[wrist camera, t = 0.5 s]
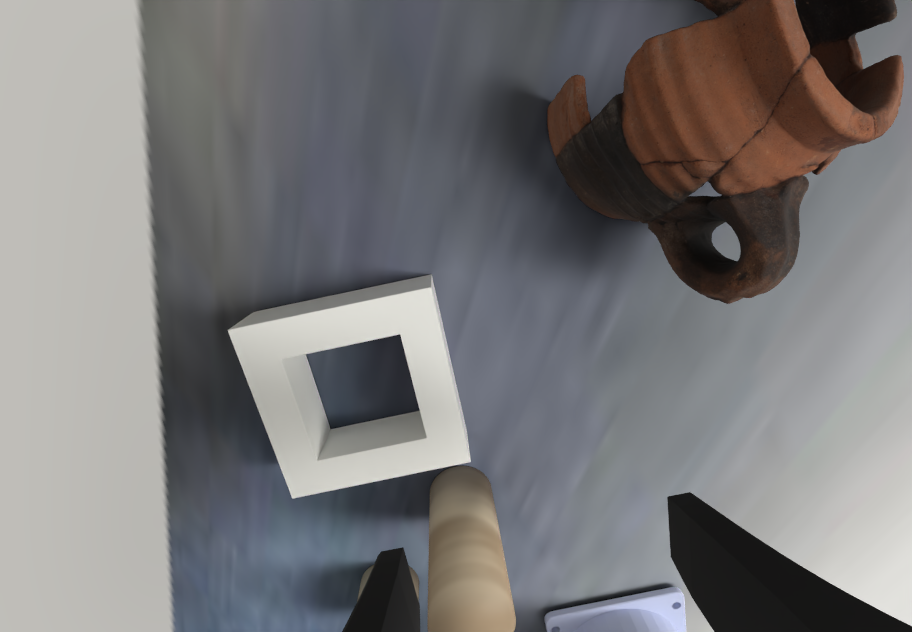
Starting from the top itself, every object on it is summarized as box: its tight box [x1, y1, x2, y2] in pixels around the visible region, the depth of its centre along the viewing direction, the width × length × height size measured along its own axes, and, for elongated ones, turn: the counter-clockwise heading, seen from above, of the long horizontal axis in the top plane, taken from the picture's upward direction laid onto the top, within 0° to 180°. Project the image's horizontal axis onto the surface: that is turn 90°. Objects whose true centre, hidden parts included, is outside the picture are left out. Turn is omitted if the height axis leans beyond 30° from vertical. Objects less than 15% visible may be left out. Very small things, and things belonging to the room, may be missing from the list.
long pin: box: [428, 466, 516, 632], centre depth 19 cm, size 3×3×7 cm
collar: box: [228, 274, 471, 499], centre depth 19 cm, size 8×8×2 cm
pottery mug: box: [547, 0, 904, 304], centre depth 15 cm, size 12×10×8 cm
